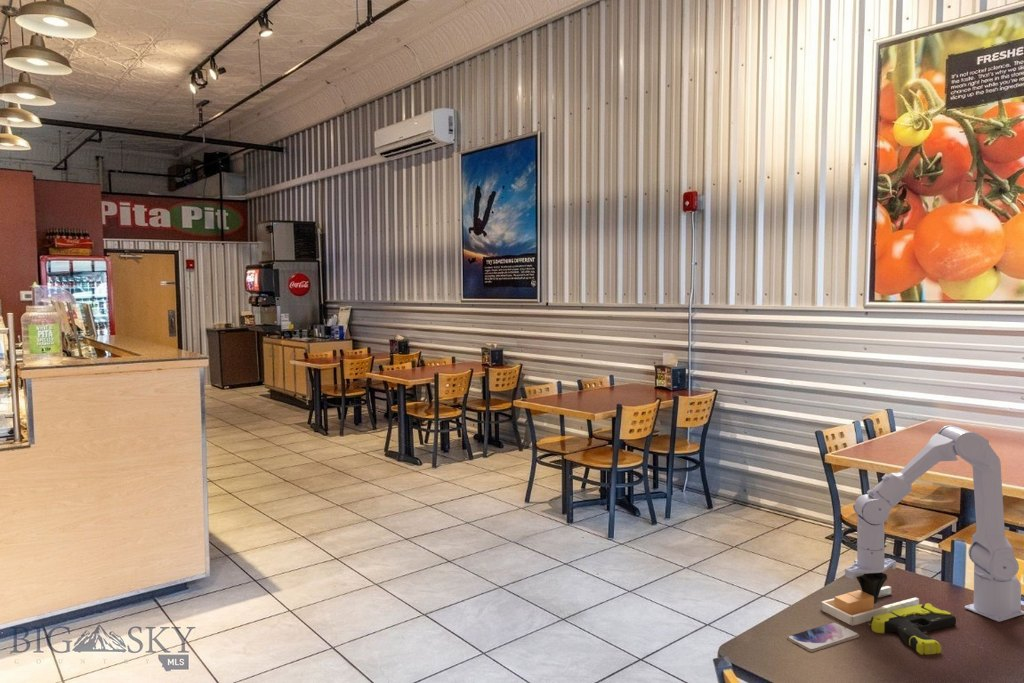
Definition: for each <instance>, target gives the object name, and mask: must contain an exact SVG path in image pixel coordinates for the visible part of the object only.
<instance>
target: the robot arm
mask: <svg viewBox="0 0 1024 683" xmlns="http://www.w3.org/2000/svg"><path fill="white" fill-rule="evenodd" d="M957 456H958V457H960V458H961V459H963V461H965V462H966V463H968V464H969V465H970V466H971V467H972V478H973V479H972V481H973V493H974V494H973V496H974V497H973V498H974V511H975V512H974V513H975V527H976V532H974V533H973V534H972V536H971V544H970V546H969V548H968V552H967V554H968V558H969V559H970V561H971V562H972V563H973V566H974V567H973V603H970V604H968V605H964V609H966V610H968V611H970V612H971V611H972V612H973V613H975V614H977V615H978V614H979V615H981V616H982V617H983V616H984V617H986V618H988V619H991V620H993V621H995V622H997V623H999V622H1004V621H1007V620H1010V619H1013V618H1015V617H1016V618H1017V617H1018V616H1023V615H1024V610H1022V608H1021V607H1022V606H1021V605H1022V603H1021V602H1022V585H1021V582H1020V580H1019V578H1018V577H1017V575H1018V573H1019V568H1020V566H1019V562H1018V560H1017V559H1016V557H1015V554H1014V548H1013V546H1012V544H1011V543H1010V541H1009V540H1008V538H1007V537H1006V535H1005V534H1006V533H1005V532H1006V531H1005V528H1006V527H1005V515H1004V514H1005V513H1004V512H1005V511H1004V500H1003V499H1004V498H1003V497H1004V496H1003V483H1002V482H1003V481H1002V480H1003V479H1002V466H1001V463H1002V462H1001V459H1000V457H999V456H998V455H997V453H996V452H995V450H994V449H993V448H992V446H991V445H990V441H989V439H987V438H985V437H983V436H982V435H980V434H979V433H977V432H973V431H969V430H967V429H963V428H961V427H959V426H957V425H954V424H950V425H945V426H943V427H942V428H941V429H939V430H938V432H936V433H935V434H933V435H932V436H931V438H930V439H929V440H928V442H927V443H926V445H925V446H924V447H922V449H921V450H920V451H919V452H917V454H916V455H915V456H914V457H913V458H912V459H910V461H909V462H908V463H907V464H906V465H905V466H904V467H903V468H902V469H901V470H900V471H899V472H890V473H889V474H884V475H883V476H882V477H881V479H882V480H881V481H879V483H878V484H876V485H875V486H874V487H873V488H872V489H868V490H867V492H866V494H862V495H860V496H858V497H857V498H856V499H855V503H853V504H852V508H853V511H854V512H855V513H856V515H857V519H856V520H857V523H856V524H857V526H856V527H857V528H856V539H857V540H856V541H857V542H856V543H857V544H856V547H857V548H856V551H857V552H856V557H857V558H856V559H853V564H852V565H850V566H849V567H846V568H844V578H848V579H849V580H855V578H856V580H857V581H858V583H859V586H860V588H861V591H863V592H865V593H867V594H870V595H872V596H874V605H876V604H877V601H878V599H879V598H878V596H879V593H880V590H881V588H882V587H884V586H883V585H884V584H885V583H886V581H887V580H888V575H887V574H886V573H884V572H886V570H889V569H891V570H896V569H897V561H896V560H894V559H893V558H892V559H891V558H890V557H889V558H885V522H887V521H888V519H889V517H890V515H891V514H890V512H891V510H892V509H893V508H894V507H895V506H897V504H900V502H901V501H902V500H903V499H904V498H905V497H907V496H908V495H909V494H910V493H911V492H912V489H913V488H912V486H913V485H912V484H913V483H914V482H915V481H917V480H918V479H919V478H921V477H922V476H923V475H924V474H926V473H927V472H928V471H929V470H930V469H932V468H933V467H934V466H935V465H937V464H939V463H940V462H956V461H958V460H959V459H958V457H957Z"/></svg>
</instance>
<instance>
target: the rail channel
mask: <svg viewBox="0 0 1024 683" xmlns="http://www.w3.org/2000/svg"><path fill="white" fill-rule="evenodd" d="M890 595H892V586H889V585H885V586H882V588H881V590H880V593H879V596H878V599H879V598H883V597H885V596H886V597H887V596H890ZM915 605H920V598H918V597H915V596H914V597H912V598H911V597H910V598H908V599H903V600H900V601H897V602H892V603H890V604H885V605H883V606H881V607H885V608H886V609H885V614H886V613H890V612H892V611H893V610H897V609H902V608H906V607H911V606H915Z"/></svg>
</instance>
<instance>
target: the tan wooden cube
mask: <svg viewBox="0 0 1024 683" xmlns="http://www.w3.org/2000/svg"><path fill="white" fill-rule="evenodd" d="M833 598H834V607H835V608H837V609H839V610H841V611H843V612H846V613H848V614H850V615H856V614H859V613H861V600H860V599H858V598H856V597H853V596H851V595H849V594H847V593H844V594H839V595H836V596H834V597H833Z"/></svg>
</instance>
